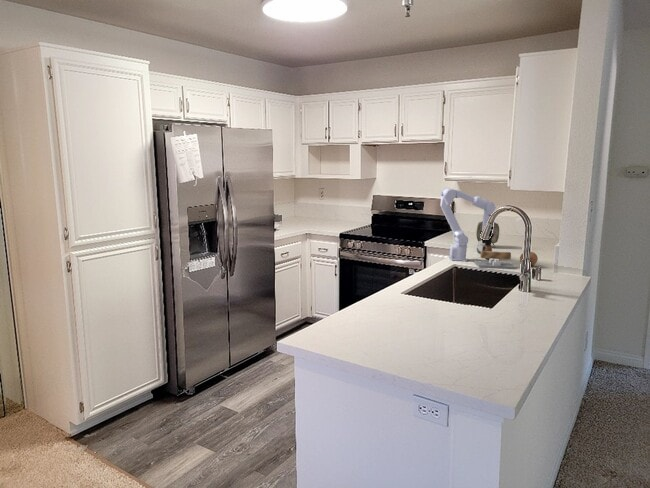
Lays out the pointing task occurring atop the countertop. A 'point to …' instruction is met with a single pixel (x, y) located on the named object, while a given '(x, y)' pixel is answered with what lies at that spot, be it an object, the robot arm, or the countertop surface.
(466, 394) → the countertop surface
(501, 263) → the stand
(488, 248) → the gun
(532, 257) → the onion
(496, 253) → the bar
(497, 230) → the tabletop clock
